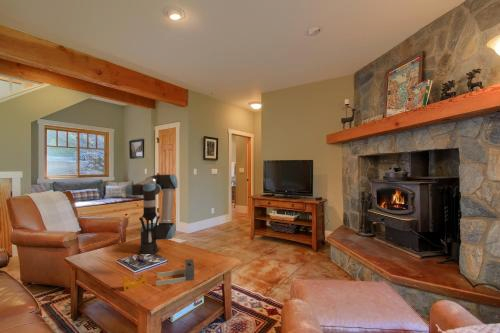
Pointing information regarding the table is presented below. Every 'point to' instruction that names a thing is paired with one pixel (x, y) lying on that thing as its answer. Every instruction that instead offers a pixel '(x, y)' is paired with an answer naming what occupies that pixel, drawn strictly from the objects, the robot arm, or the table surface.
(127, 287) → the pipe clamp
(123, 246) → the table surface
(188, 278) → the unit housing
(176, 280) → the frame
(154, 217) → the robot arm
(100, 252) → the table surface
